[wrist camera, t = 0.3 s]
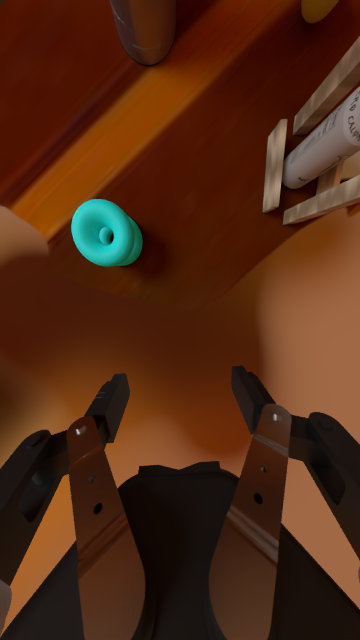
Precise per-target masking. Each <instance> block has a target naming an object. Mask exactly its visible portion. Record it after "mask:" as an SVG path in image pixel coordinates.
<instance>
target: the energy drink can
mask: <svg viewBox="0 0 360 640" xmlns="http://www.w3.org/2000/svg"><path fill="white" fill-rule="evenodd" d="M359 151H360V87H358V88H357V89H356V90H355V91H354V92H353V93H352V94H351V95H350V96H349V97H348V98H347V99H346V100H345V101H344V102H343V103H342V104H341V105H340V106H339V107H338V108H337V109H336V110H335V111H334V112H332V113H331V114H330V115H329V116H328V117H327V118H326V119H325V120H324V121H323V122H322V123H321V124H320V125H319V126H318V127H317V128H316V129H315V130H314V131H313V132H312V133H311V134H310V135H309V136H308V137H307V138H306V139H305V140H304V141H303V142H302V143H300V144H299V145H298V146H297V147H296V148H295V149H294V150H293V151H292V152H291V153H290V154H289V155H288V156H287V158H286V159H285V161H284V163H283V168H282V182H283V183H284V185H285V186H287V187H288V188H291V189H297V188H300V187H301V186H303V185H305V184H307V183H308V182H310V181H311V180H313V179H315V178H316V177H318V176H320V175H321V174H323V173H324V172H326V171H328V170H329V169H331V168H333V167H334V166H336V165H337V164H339V163H341V162H342V161H344V160H346V159H347V158H349V157H351V156H352V155H354V154H355V153H357V152H359Z"/></svg>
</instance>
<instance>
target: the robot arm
mask: <svg viewBox="0 0 360 640" xmlns="http://www.w3.org/2000/svg"><path fill="white" fill-rule="evenodd" d="M110 3H111V7H112V11H113V15H114V19H115V22H116V26H117V30H118V34H119V37H120V40H121V42H122V45H123V47H124V48H125V50H126V51H127V53H128V54H129V55H130V56H131V57H132V58H133V59H134V60H136V61H137V62H138V63H141V64H144V65H152V64H156V63H158V62H159V61H161V60H162V59H163V58H164V57H165V56H166V55H167V53H168V52H169V50H170V49H171V46H172V43H173V41H174V36H175V31H176V0H110ZM231 387H232V391H233V394H234V396H235V398H236V400H237V403H238V405H239V408H240V410H241V412H242V415H243V417H244V419H245V422H246V424H247V426H248V429H249V431H250V434H254V435H253V437H252V440H251V443H250V446H249V450H248V453H247V456H246V459H245V462H244V465H243V469H242V472H241V475H240V478H239V477H237V476H236V475H234V474H233V473H231V472H229V471H227V470H224V469H221V468H220V465H219V461H212V462H199V463H196V464H193V465H191V466H188V467H186V468H183V469H180V470H177V469H173V468H169V467H165V466H161V465H149V466H139V471H138V474H137V475H135V476H133V477H131V478H130V479H128V480H126V481H125V482H124V483H123V484H122V485H121V486H119V488H118V489H117V486H116V483H115V480H114V477H113V474H112V471H111V468H110V465H109V462H108V459H107V456H106V454H105V450H104V449H105V446H106V444H107V443H113V442H114V439H115V436H116V433H117V431H118V428H119V425H120V422H121V419H122V417H123V414H124V411H125V408H126V405H127V402H128V399H129V395H130V390H129V385H128V380H127V376H126V374H125V373H122V374H115V375H114V376H113V378H112V380H111V381H107V382H106V383H105V384H104V385H103V386H102V387H101V389H100V390H99V392H98V394H97V395H96V397H95V399H94V400H93V402H92V404H91V405H90V407H89V409H88V410H87V412H86V414H85V415H84V417H81V418H79V419H77V420H76V421H75V422H73V423H72V424H71V425H70V427H69V428H68V430H65V431H63V432H60V433H57V434H54V435H51V434H50V432H49V431H48V430H40V431H37V432H35V433H33V434H31V435H30V436H29V437H27V438H26V439H25V440H24V441H23V442H22V443H21V444H20V445H19V446H18V448H17V449H16V450H15V451H14V452H13V454H12V455H11V456H10V457H9V459H8V460H7V461H6V462H5V464H4V465H3V466H2V467H1V469H0V635H1V633H2V630H3V628H4V624H5V619H6V616H7V614H8V611H9V608H10V604H11V598H12V592H11V588H10V585H11V583H12V581H13V579H14V576H15V574H16V572H17V570H18V568H19V566H20V564H21V562H22V560H23V558H24V556H25V554H26V552H27V550H28V548H29V545H30V543H31V541H32V539H33V537H34V535H35V532H36V531H37V529H38V527H39V525H40V523H41V521H42V518H43V516H44V514H45V512H46V510H47V508H48V506H49V504H50V502H51V500H52V498H53V496H54V494H55V492H56V490H57V488H58V485H59V483H60V481H61V479H62V477H63V476H64V475H67V474H69V482H70V491H71V500H72V508H73V516H74V525H75V534H76V541H75V542H74V544H73V545H72V546H71V547H70V549H69V550H68V551H67V553H66V554H65V555H64V556H63V557H62V559H61V560H60V561H59V563H58V564H57V565H56V566H55V568H54V569H53V570H52V571H51V573H50V574H49V575H48V576H47V578H46V579H45V580H44V581H43V583H42V584H41V585H40V586H39V588H38V589H37V590H36V592H35V593H34V594H33V595H32V597H31V598H30V599H29V600H28V602H27V603H26V604H25V605H24V607H23V608H22V609H21V610H20V612H19V613H18V614H17V615H16V617H15V618H14V619H13V621H12V622H11V623H10V625H9V626H8V627H7V629H6V630H5V631H4V633H3V634H2V636H1V637H0V640H360V609H359V608H358V607H357V606H356V604H355V603H354V602H353V601H352V600H351V599H350V598H349V597H348V596H347V595H346V593H345V592H344V591H343V590H342V589H341V588H340V587H339V586H338V585H337V584H336V583H335V582H334V580H333V579H332V578H331V577H330V576H329V575H328V574H327V573H326V572H325V571H324V569H323V568H322V567H321V566H320V565H319V564H318V563H317V562H316V561H315V559H313V557H312V556H311V555H310V554H309V553H308V552H307V551H306V550H305V549H304V547H303V546H302V545H301V544H300V543H299V542H298V541H297V540H296V539H295V537H293V535H292V534H291V533H290V532H289V531H288V530H287V529H286V528H285V526H284V525H283V524H282V523H281V519H282V510H283V501H284V492H285V483H286V474H287V464H288V457H289V458H293V459H296V460H300V461H303V462H304V464H305V466H306V467H307V469H308V471H309V472H310V474H311V476H312V478H313V480H314V481H315V483H316V485H317V487H318V488H319V490H320V492H321V494H322V495H323V497H324V499H325V501H326V502H327V504H328V506H329V508H330V509H331V511H332V513H333V515H334V516H335V518H336V520H337V522H338V523H339V525H340V527H341V528H342V530H343V532H344V534H345V535H346V537H347V539H348V541H349V542H350V544H351V546H352V548H353V549H354V551H355V553H356V554H357V556H358V558H359V560H360V444H358V442H357V441H356V440H355V439H354V438H353V437H352V436H351V435H350V434H349V433H348V432H347V430H346V429H344V427H343V426H342V425H341V424H340V423H339V422H338V421H337V420H335V419H334V418H332V417H331V416H329V415H326V414H324V413H320V412H313V413H311V414H310V415H309V418H304V417H299V416H294V415H291V414H290V413H289V412H288V411H287V410H286V409H285V408H283V407H282V406H279V405H277V404H276V403H275V401H274V400H273V399H272V397H271V396H270V394H269V393H268V391H267V390H266V388H265V387H264V386H263V384H262V383H261V381H260V380H259V378H258V377H257V376H256V375H255V374H253V373H252V372H247V371H246V370H245V368H244V367H243V366H242V365H241V366H232V373H231ZM358 576H359V582H360V567H359V571H358Z"/></svg>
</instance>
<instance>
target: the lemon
mask: <svg viewBox="0 0 360 640" xmlns="http://www.w3.org/2000/svg"><path fill="white" fill-rule="evenodd" d="M338 1H339V0H301V11H302V15H303V18H304V20H305V21H306V22H308V23H316V22H318V21H320V20H321V19H323V18H324V17H325V16H326V15H327V14H328V13H329V12H330V11H331V10H332V9H333V8H334V6H335V5H336V4H337V2H338Z"/></svg>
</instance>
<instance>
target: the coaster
mask: <svg viewBox="0 0 360 640" xmlns="http://www.w3.org/2000/svg"><path fill="white" fill-rule="evenodd" d="M358 175H360V151H359V152H357V153H355V154H354V155H352V156H351V157H349V158H347V159H346V160H344V164H343V169H342V174H341V180H346V179H352V178H354V177H356V176H358Z"/></svg>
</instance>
